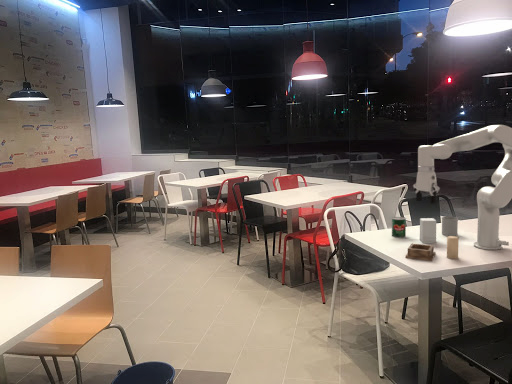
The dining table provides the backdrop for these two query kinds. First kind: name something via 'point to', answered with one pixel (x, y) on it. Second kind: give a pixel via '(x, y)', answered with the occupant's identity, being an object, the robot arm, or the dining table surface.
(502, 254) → the dining table surface
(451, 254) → the tan rectangular block
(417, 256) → the brown wooden box
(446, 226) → the cup
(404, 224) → the canned tomato
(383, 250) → the dining table surface
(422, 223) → the supplement box
